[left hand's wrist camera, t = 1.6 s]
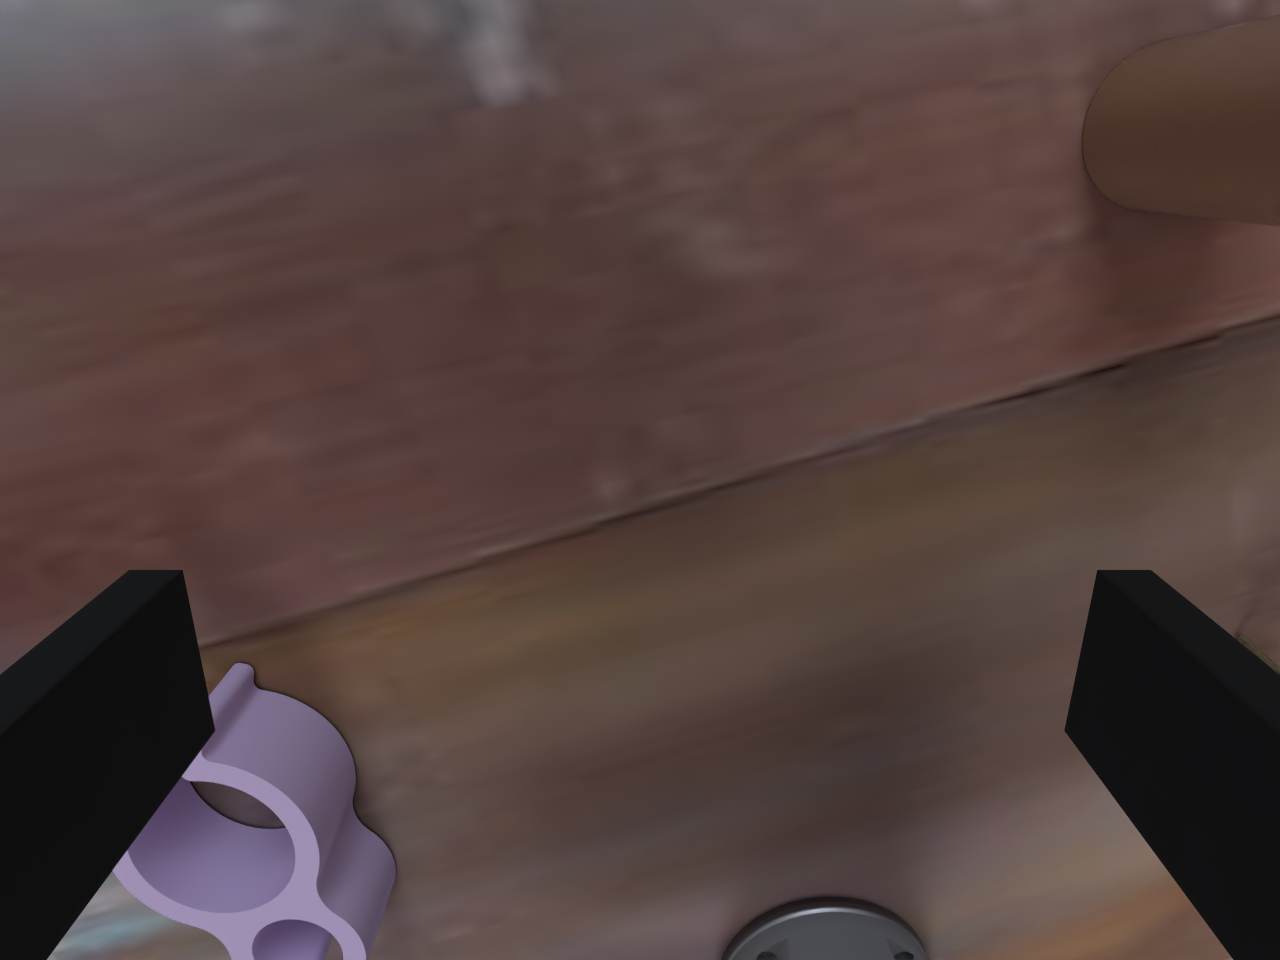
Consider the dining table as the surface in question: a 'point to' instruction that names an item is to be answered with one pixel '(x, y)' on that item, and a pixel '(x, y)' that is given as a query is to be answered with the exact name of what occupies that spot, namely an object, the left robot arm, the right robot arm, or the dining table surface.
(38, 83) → the dining table surface
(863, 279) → the dining table surface
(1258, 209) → the bottle
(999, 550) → the dining table surface
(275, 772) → the clip
